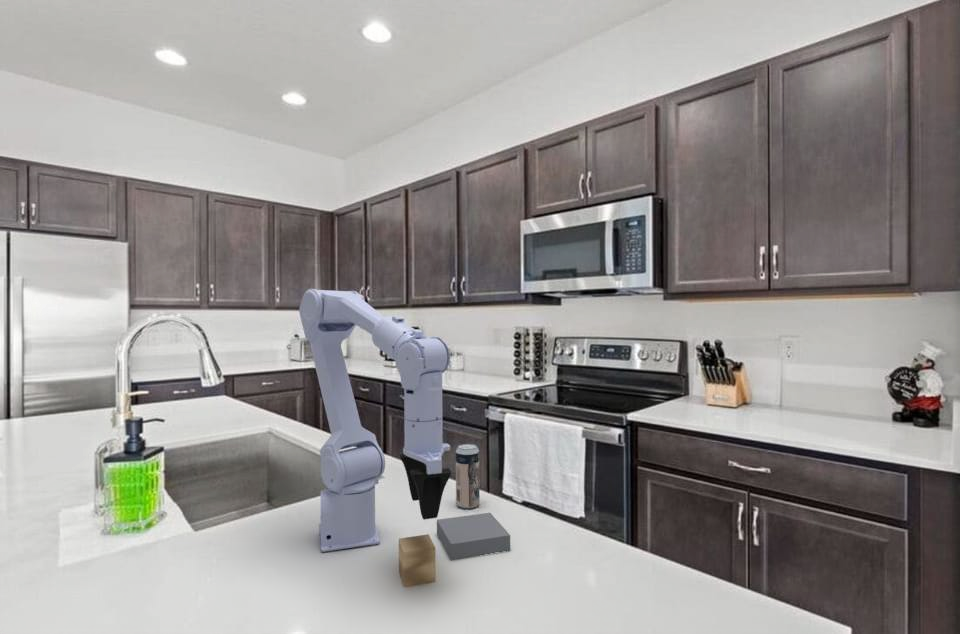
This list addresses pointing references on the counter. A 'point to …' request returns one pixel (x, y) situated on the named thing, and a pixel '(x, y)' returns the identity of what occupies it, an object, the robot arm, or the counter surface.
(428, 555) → the oak block
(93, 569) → the counter surface
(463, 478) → the beer can
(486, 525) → the charcoal base
